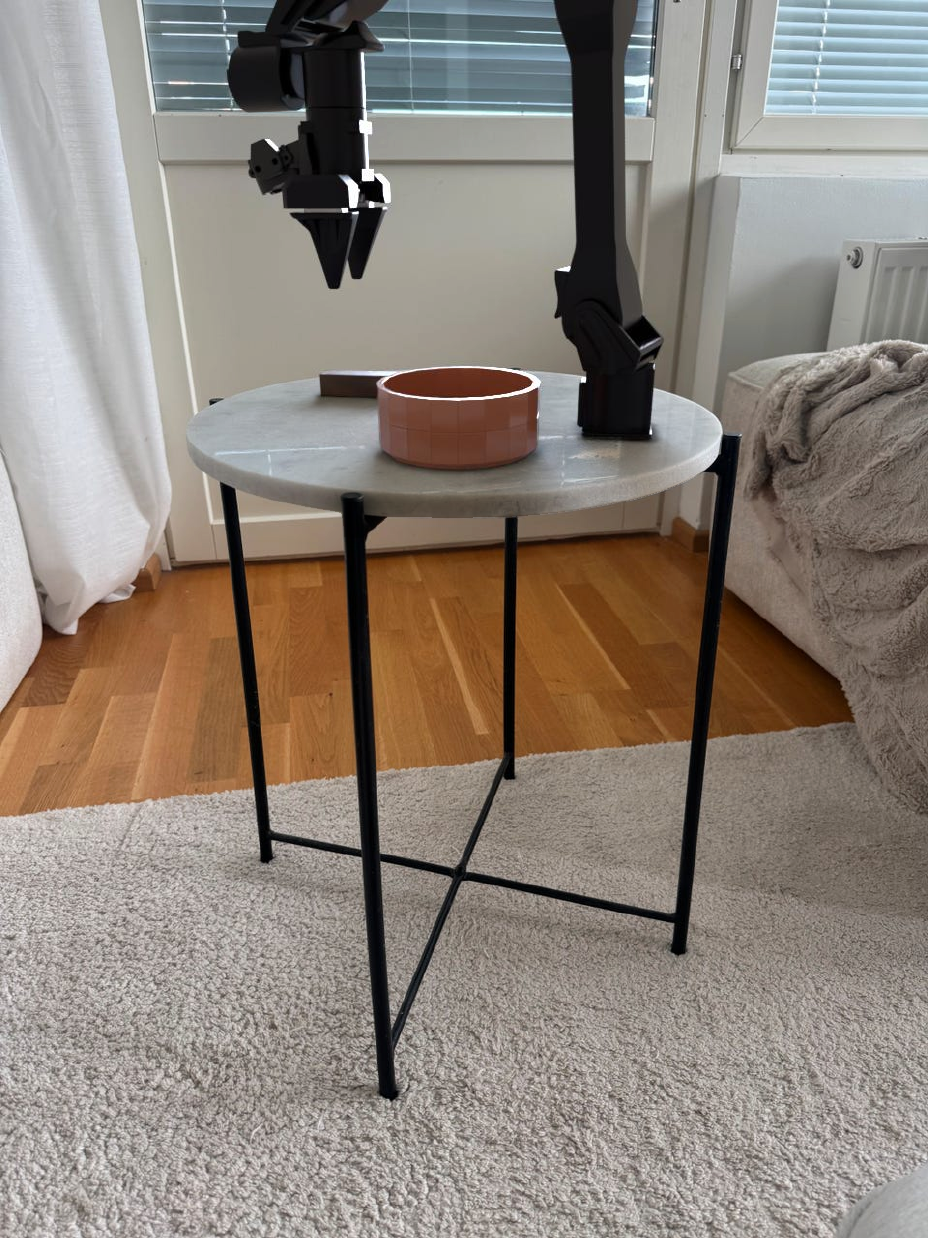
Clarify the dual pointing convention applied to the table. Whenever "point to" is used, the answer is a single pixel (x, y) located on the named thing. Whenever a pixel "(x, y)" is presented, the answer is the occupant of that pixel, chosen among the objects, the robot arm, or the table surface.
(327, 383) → the stick
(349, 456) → the table surface
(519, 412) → the bowl
